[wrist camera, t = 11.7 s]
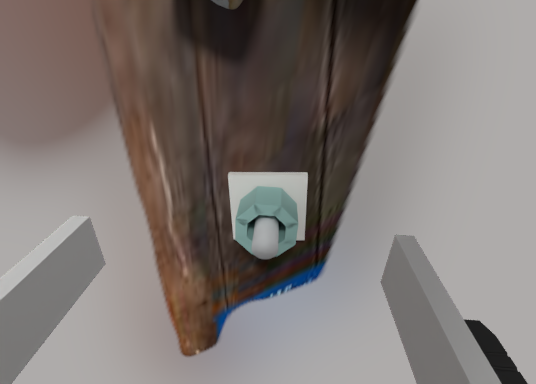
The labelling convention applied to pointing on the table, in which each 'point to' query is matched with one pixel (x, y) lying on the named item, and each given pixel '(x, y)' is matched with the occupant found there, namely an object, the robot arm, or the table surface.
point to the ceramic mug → (228, 3)
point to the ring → (269, 204)
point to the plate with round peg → (266, 225)
